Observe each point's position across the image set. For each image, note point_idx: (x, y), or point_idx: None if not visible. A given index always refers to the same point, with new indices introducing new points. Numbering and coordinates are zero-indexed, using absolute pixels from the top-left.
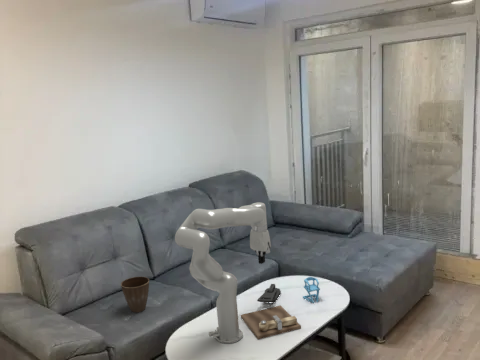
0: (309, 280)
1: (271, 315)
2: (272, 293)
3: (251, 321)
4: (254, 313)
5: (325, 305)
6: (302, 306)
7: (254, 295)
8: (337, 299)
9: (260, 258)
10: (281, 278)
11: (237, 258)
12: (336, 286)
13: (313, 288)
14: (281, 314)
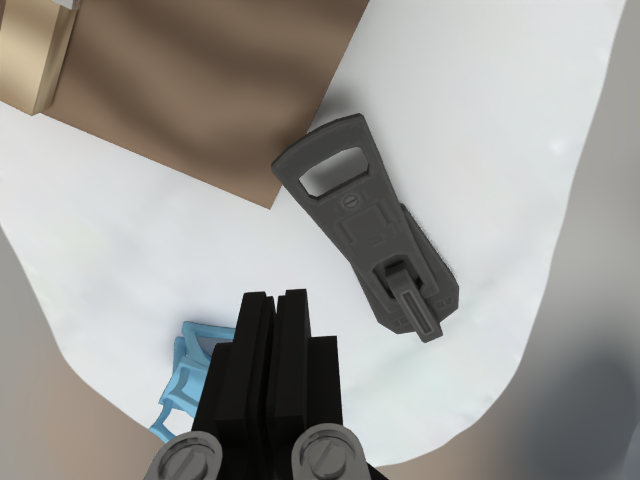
0: None
1: (217, 79)
2: (359, 257)
3: None
4: (326, 29)
5: (127, 334)
6: (197, 275)
7: (494, 230)
8: (135, 392)
9: (233, 371)
10: (472, 412)
11: None
12: None
13: (183, 389)
14: (182, 128)
